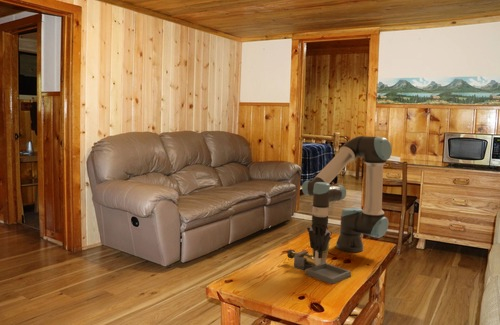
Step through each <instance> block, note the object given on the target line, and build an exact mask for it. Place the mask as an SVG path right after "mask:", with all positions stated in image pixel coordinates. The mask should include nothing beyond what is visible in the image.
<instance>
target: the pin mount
mask: <svg viewBox="0 0 500 325" xmlns="http://www.w3.org/2000/svg"><path fill="white" fill-rule="evenodd" d="M301 255H305V256H308V257H311V258H313V254H309V251H307V250H305V249H304V250H302V251H298V252H296V255H294V258H293V260H294V261H293V267H294V268H295V269H297V270H300V271H302V272H304V271H305V272H306V269H308V268H311V267H313V266H314V265H312V264H310V263H307V262H306V258H305V257H302V256H301Z"/></svg>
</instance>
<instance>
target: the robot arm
mask: <svg viewBox="0 0 500 325" xmlns="http://www.w3.org/2000/svg"><path fill="white" fill-rule="evenodd" d="M392 151H393V150H392V144H391V142H390V140H389V139H387V138H386V137H382V136H381V137H380V136H369V135H368V136H365V135H359V136H356V137H353V138H351V139H350V140H348V141H346V142H345V143H344V144H343V145H342V146H341V147H340V148H339V151H338V153H337V154H335V156H333V157H332V159H331V160H330V161H329V162H328V163H326V165H325V166H324V167H323V168H322V169H321V170H320V172H318V174H317V175H316V176H315V177H314V178H313V179H312V180H310V179H309V180H305V181H304V182H303V183H302V186H301V190H302V193H303V194H304V195H306V196H309V197H312V210H311V212H312V213H311V214H312V215H311V225H310V226H308V227H307V229H306V230H307V232H308V238H309V244H310V248H311V249H312V248H313V249H314V257H315V265H319V264H321V258H322V252H323V251H325V250H326V249H327V246H328V242H329V239H330V237H331V236H332V235H333V232H331V231H329V227H328V225H329V212H330V209H329V208H330V202H336V201H341V200H344V199H345V198H346V196H347V190H346V187H345V186H344V185H342V184H330V183H331V182H332V181H333V180H334V179H335V178H336V177H337V176H338V175H339V174H340V173H341V172H342V170H343V169H345V167H346V166H347V165H348V164H349V162H353V161H354V160H355V159H357V158H363V163H364V164H365V165H366V173H365V201H364V205H365V206H364V209H362V208H360V207H359V208H357V207H349V208H348V207H347V208H343V209H342V210H341V214H340V225H339V226H340V229H339V236H338V238H337V240H336V243H335V248H336V249H338V250H340V251H343V252H347V253H348V252H349V253H360V252H362V251H364V243H363V238H362V235H366V236H369V237H372V238H377V239H378V238H379V239H380V238H382V237H383V236H385V235H386V233H387V231H388V229H389V222H390V221H389V218H388V217H386V216H385V211H384V210H383V208H382V207H383V206H382V205H383V185H384V183H383V182H384V179H383V178H384V165H386V164H387V162H388V160H389V159H390V158H391V155H392ZM325 233H326V234H325ZM324 236H325V238H324ZM330 240H331V239H330ZM329 243H330V242H329ZM315 265H314V266H315Z"/></svg>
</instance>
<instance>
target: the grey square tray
mask: <svg viewBox="0 0 500 325" xmlns="http://www.w3.org/2000/svg"><path fill="white" fill-rule="evenodd" d="M304 273H305V275H306V276H309V277H311V278H313V279H317V280H318V281H322V282H325V283H326V284H329V285H335V284H337V283H339V282H341V281H343V280H346V279H348V278H350V277H351V276H352V271H351V270H348V269H345V268H343V267H339V266H336V265H334V264H332V263H331V264H330V263H328V262H326V263H322V264H319V265H316V266H315V265H313V267H311V268H308V269H306V270H305V272H304Z"/></svg>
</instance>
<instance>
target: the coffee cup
mask: <svg viewBox="0 0 500 325" xmlns="http://www.w3.org/2000/svg"><path fill="white" fill-rule="evenodd" d="M325 234H326V233H325ZM324 238H325V236H324ZM331 239H332V238H331V236H330V239H329V242H328V246H327V249H326V250H325V251H323V252H322V258H321V264H322V263H327V260H328V259H327V258H328V256H329V249H330V240H331ZM311 249H312V256H313V258H314V259H315V257H314V249H313V248H311Z"/></svg>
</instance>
